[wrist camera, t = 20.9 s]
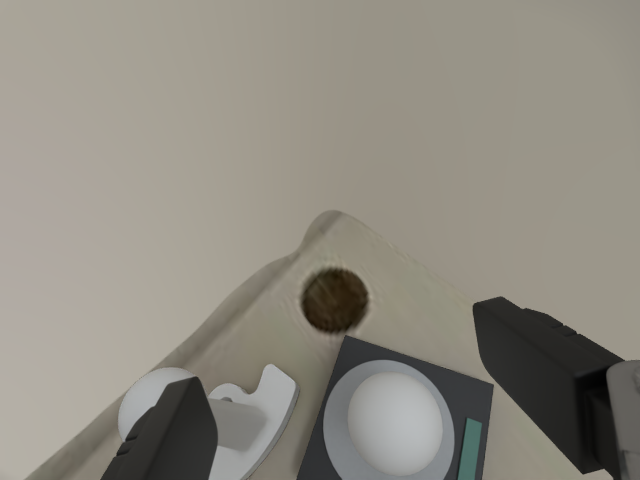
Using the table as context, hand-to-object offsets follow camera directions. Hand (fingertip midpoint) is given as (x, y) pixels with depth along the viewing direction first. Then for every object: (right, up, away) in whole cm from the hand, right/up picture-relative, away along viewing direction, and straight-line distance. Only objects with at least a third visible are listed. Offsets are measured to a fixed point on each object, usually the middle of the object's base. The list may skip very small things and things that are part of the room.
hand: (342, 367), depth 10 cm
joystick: (-8, -14, +25) cm, 30 cm away
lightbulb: (+5, -13, +20) cm, 24 cm away
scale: (+6, -14, +22) cm, 27 cm away
